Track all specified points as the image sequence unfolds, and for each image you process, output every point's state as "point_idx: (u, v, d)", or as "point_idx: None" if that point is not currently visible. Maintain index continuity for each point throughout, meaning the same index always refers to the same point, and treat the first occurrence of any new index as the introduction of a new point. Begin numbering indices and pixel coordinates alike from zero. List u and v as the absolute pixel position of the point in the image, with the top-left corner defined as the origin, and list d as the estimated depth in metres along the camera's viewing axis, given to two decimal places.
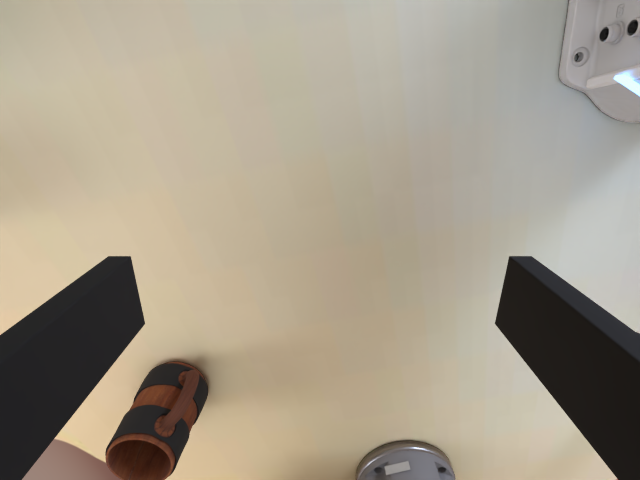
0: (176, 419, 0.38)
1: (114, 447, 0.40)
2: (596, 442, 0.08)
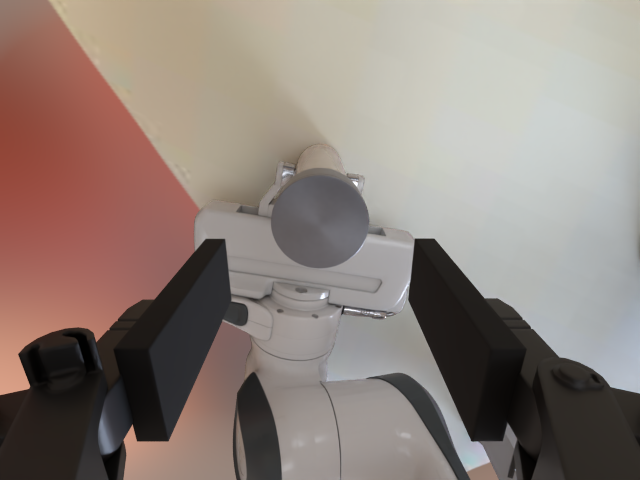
0: None
1: None
2: (451, 388, 0.10)
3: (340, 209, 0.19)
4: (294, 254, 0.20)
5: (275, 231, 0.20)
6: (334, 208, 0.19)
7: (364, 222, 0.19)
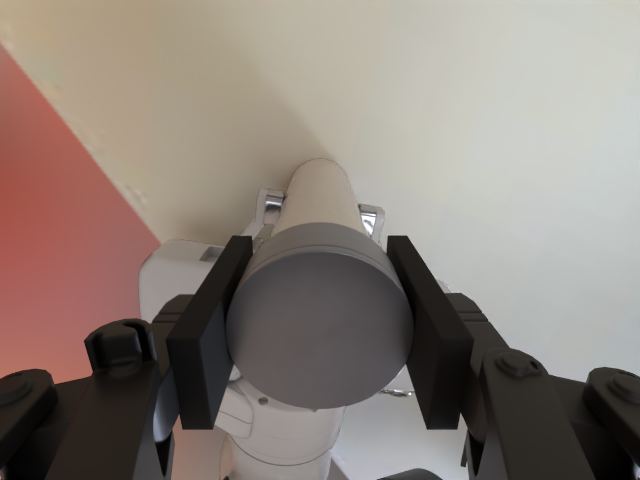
0: None
1: None
2: (413, 379, 0.10)
3: (360, 312, 0.10)
4: (272, 387, 0.11)
5: (234, 349, 0.10)
6: (348, 310, 0.10)
7: (406, 334, 0.10)
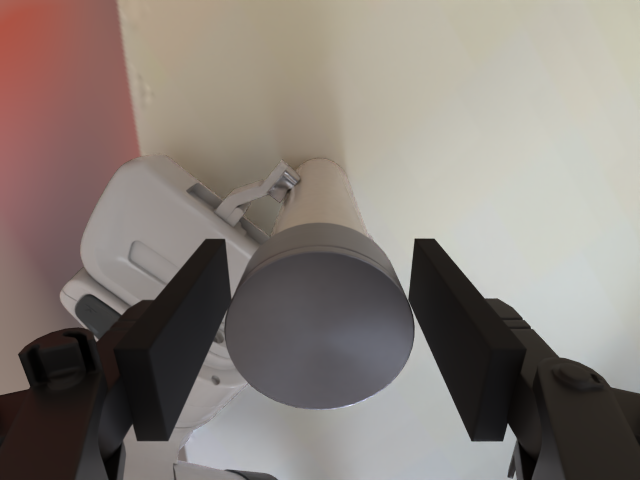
0: None
1: None
2: (451, 388, 0.10)
3: (324, 295, 0.10)
4: (330, 399, 0.11)
5: (275, 395, 0.11)
6: (314, 302, 0.10)
7: (378, 279, 0.09)
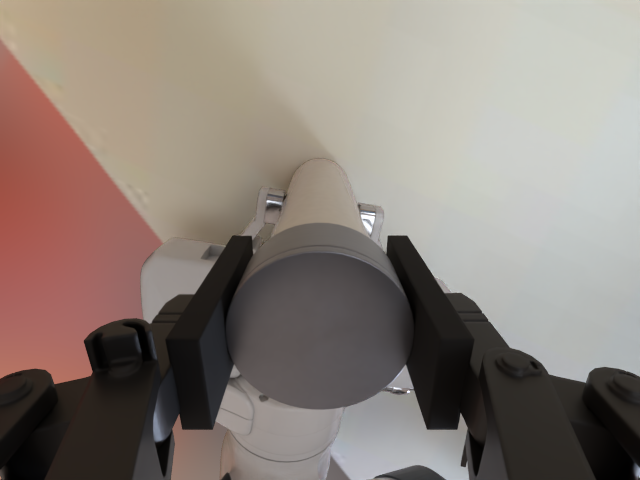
0: None
1: None
2: (413, 380, 0.10)
3: (297, 299, 0.10)
4: (369, 386, 0.11)
5: (317, 405, 0.11)
6: (293, 310, 0.10)
7: (334, 261, 0.09)
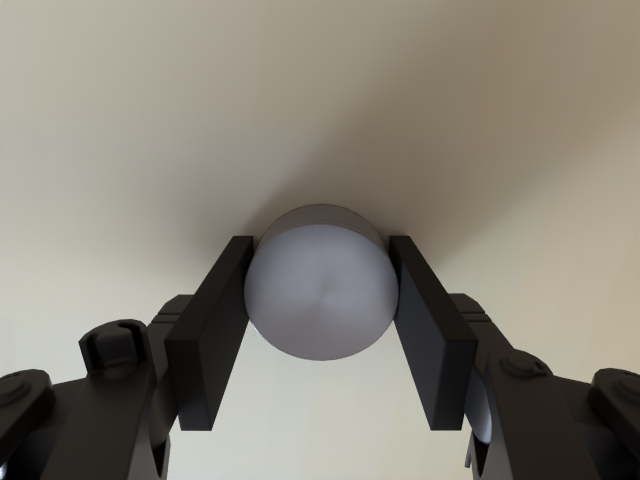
0: None
1: None
2: (416, 380, 0.10)
3: (302, 264, 0.12)
4: (362, 340, 0.13)
5: (319, 356, 0.13)
6: (299, 273, 0.12)
7: (332, 232, 0.11)
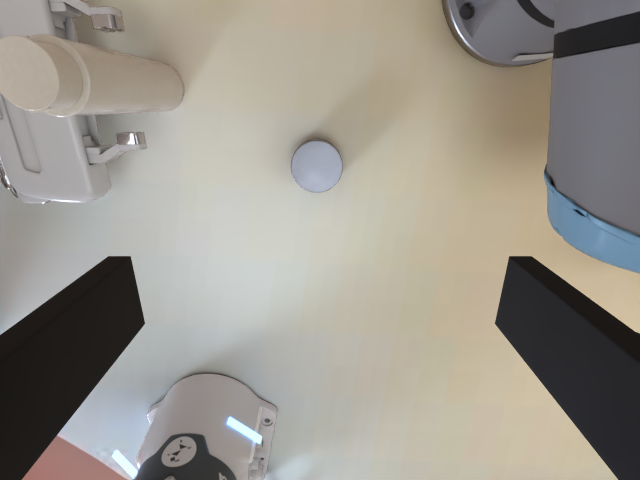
0: None
1: None
2: (597, 442, 0.08)
3: (310, 155, 0.36)
4: (330, 184, 0.38)
5: (316, 190, 0.38)
6: (309, 158, 0.37)
7: (320, 143, 0.36)
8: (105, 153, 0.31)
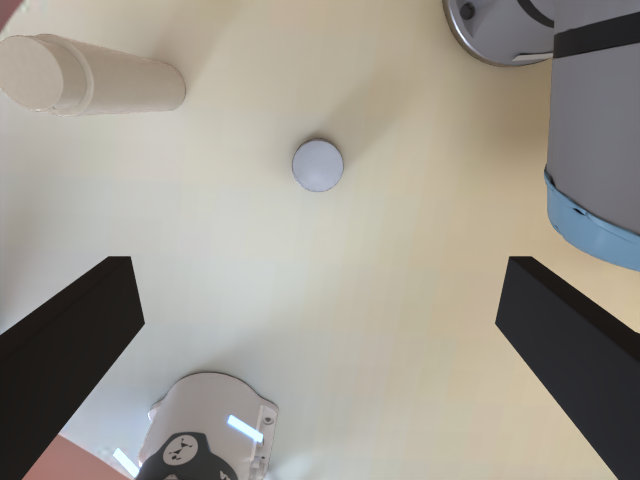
0: None
1: None
2: (596, 442, 0.08)
3: (311, 154, 0.37)
4: (331, 183, 0.38)
5: (317, 190, 0.38)
6: (310, 157, 0.37)
7: (321, 143, 0.36)
8: None
